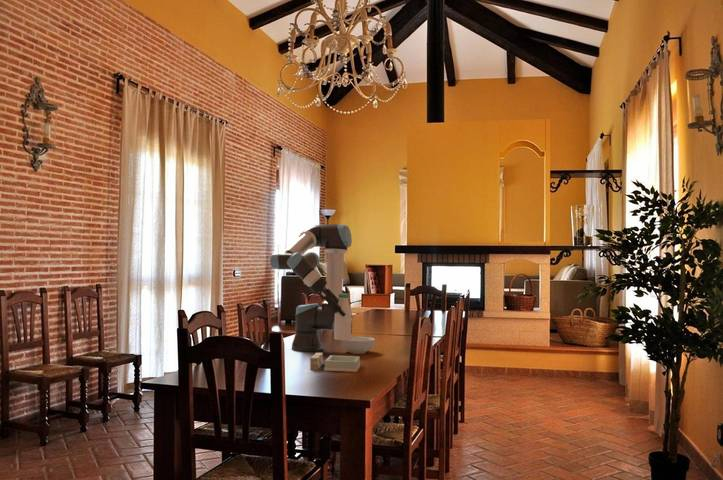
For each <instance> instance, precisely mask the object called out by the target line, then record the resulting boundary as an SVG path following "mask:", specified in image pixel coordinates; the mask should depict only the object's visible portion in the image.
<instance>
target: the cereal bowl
mask: <svg viewBox="0 0 723 480" xmlns="http://www.w3.org/2000/svg"><path fill="white" fill-rule="evenodd" d="M375 341H376V340H375V338H373V337H367V336H352V339H351V340H340V344H341V348H343V349H344V350H345V351H347V352H349V353H350V354H355V355H358V354H359V355H362V354H367V352H369V351H371V350H372V349H373V348H374V346H375V344H376V343H375Z"/></svg>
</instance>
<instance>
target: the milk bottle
mask: <svg viewBox="0 0 723 480" xmlns="http://www.w3.org/2000/svg"><path fill="white" fill-rule="evenodd" d="M349 300H350V294H349V293H342V294H339V303H338V305H339V306H340V307H341V308H343V310H344V311H345V312H346V313H347V314H348V315H349V316H350V317H351V318H352V315H353V311H352V310H353V309H352V308H351V305H350V302H349ZM352 337H353V319H352V320H351V321H350V322H349V323H347V322H346V321H345V320H344V319H343V318H342V317H341V316H340V315H339V314H338V313H335V322H334V331H333V338H334V340H335V341H341V340H351V339H352Z"/></svg>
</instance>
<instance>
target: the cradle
mask: <svg viewBox="0 0 723 480" xmlns="http://www.w3.org/2000/svg"><path fill="white" fill-rule="evenodd" d="M360 359H361V358H360V356H359V355H358V356H357V355H331V354H330V355H329V356H328V357H327V358H326V359H325V360H324V368H323V371H327V372H328V371H333V372H334V371H335V372H355V373H357V372H358V370H359V369H360V367H361V361H360Z"/></svg>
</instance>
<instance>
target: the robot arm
mask: <svg viewBox="0 0 723 480" xmlns="http://www.w3.org/2000/svg"><path fill="white" fill-rule="evenodd" d="M352 240H353V238H352V234H351V229H350V227H349V226H348V225H346V224H341V223H338V224H337V223H335V224H327V223H326V224H323V223H322V224H320V223H319V224H316V225H315V224H314V225H313V226H311V227H308V228H307V229H305V230H304V231H302V232H300V234H299V236H298V238H296V240H294V241H293V242H292V243H290V245H288V246H287V247H286V248H284V249H283V251H282V250H281V252H273V253H272V254H271V255H270V258H269V266H270V267H271V269H275V270H291V271H292V272H293V273H295V274H296V276H298V277H299V278H300V279H301V281H303V285H304V286H305V285H306V286H307V287H308V288H309V289H310V291H311V292H312V293H313V294H314V295H316V294H318V293H319V294H320V297H321V298H322V299H323V301H322V302H321V306H320V305H319V303H307V304H299V305H298V306H296V308H295V333H294V337H293V340H292V343H291V350H293V351H296V352H316V351H318V352H319V351H321V350H322V343H321V339H320V336H319V330H321V331H323V330H324V331H333V332H334V322H335V313H338V314H339V315H340V316H341V317H342V318H343V319H344V320H345V321H346V322H347V323H349V322H350V321H351V320H352V321H353V319H354V318H355V316H354V314H352V318H351V317H350V316H349V315H348V314H347V313H346V312H345V311H344V310H343V308H341V307H340V306H339V305H338V303H339V294H343V282H344V281H343V279H344V264H345V263H344V261H345V260H344V259H345V254H346V253H347V252H348V248H350V247H351V246H352ZM315 247H316V248H317V247H318V248H319V247H322V248H324V251H325V252H326V254H327V257H326V272H325V273H326V275H325V278H324V277H323V276H322V275H321V274H320V272H319V271H318V270H317V269H316V268H317V267H318V266H319V265H320V260H321V259H320V256H319V255H318V253H315V252H313V251H310V252H307V251H309V250H312V249H313V248H315Z"/></svg>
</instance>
